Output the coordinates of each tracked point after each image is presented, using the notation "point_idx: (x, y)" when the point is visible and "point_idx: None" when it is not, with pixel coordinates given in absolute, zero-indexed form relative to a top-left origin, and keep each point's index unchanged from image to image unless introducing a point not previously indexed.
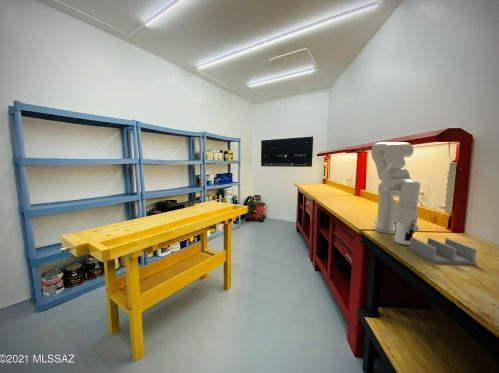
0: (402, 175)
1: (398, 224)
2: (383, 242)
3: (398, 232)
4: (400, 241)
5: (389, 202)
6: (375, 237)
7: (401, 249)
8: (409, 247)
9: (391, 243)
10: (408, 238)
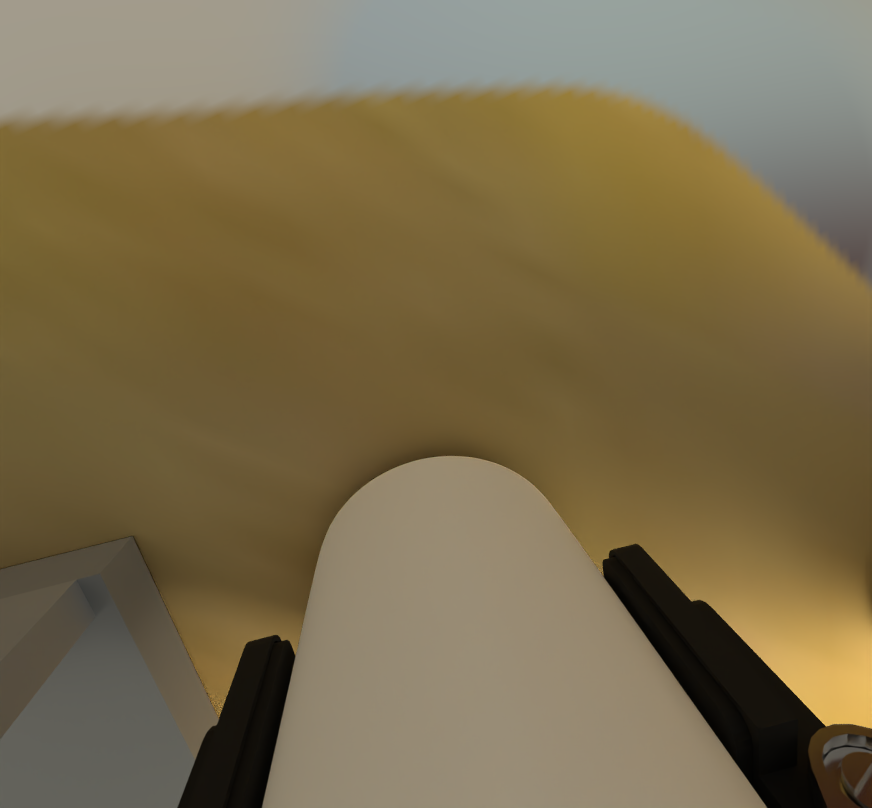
0: None
1: None
2: (388, 186)
3: (399, 645)
4: (338, 527)
5: None
6: (686, 134)
7: (72, 412)
8: (73, 577)
9: (380, 353)
10: (206, 736)
